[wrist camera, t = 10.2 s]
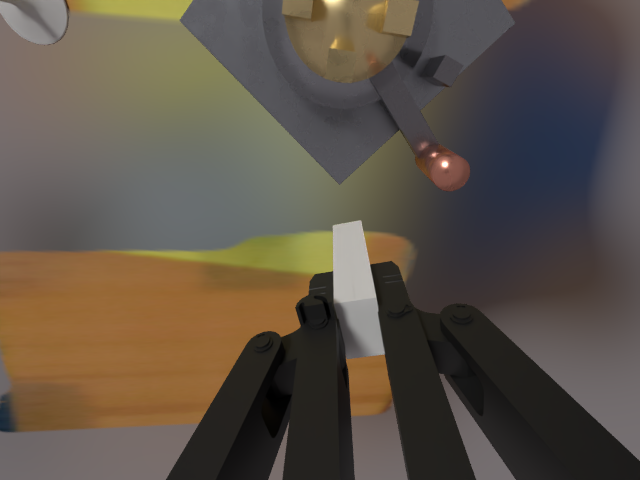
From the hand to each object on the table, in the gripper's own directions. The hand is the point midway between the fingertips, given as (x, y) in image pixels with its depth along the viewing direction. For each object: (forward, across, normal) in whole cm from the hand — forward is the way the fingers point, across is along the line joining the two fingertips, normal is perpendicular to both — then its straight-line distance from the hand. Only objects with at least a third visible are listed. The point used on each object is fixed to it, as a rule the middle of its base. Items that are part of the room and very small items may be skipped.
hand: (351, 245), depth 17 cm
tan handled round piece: (+21, +5, +7) cm, 23 cm away
